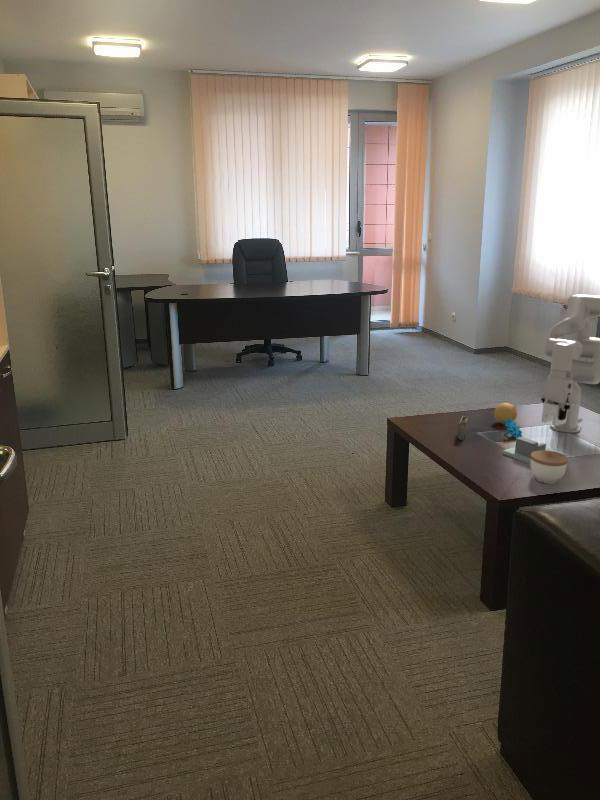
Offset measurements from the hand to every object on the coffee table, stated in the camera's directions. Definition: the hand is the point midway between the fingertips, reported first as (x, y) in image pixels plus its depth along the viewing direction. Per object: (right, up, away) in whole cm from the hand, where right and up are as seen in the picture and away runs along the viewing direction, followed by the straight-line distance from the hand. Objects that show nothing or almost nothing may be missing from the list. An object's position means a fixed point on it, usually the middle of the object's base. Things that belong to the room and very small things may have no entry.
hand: (554, 417), depth 260 cm
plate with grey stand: (-9, -15, -1) cm, 18 cm away
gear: (-10, -9, +21) cm, 25 cm away
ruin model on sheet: (-32, -9, +21) cm, 39 cm away
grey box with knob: (0, -2, +1) cm, 2 cm away
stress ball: (-8, -4, +37) cm, 38 cm away
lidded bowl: (-13, -22, -25) cm, 36 cm away
